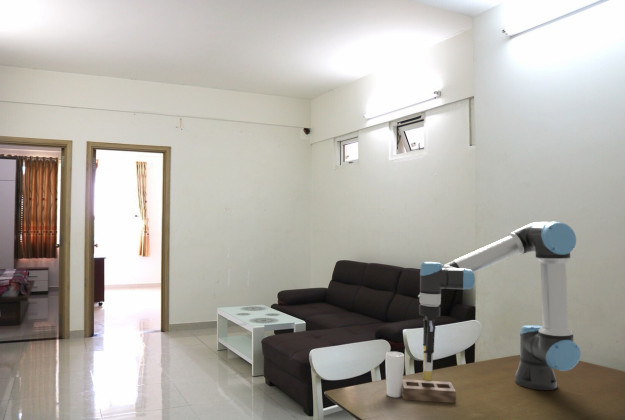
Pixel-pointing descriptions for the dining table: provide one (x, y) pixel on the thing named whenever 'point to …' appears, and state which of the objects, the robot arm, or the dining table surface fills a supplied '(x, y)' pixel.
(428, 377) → the peg
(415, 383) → the hole block
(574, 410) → the dining table surface
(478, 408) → the dining table surface
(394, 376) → the drinking glass
